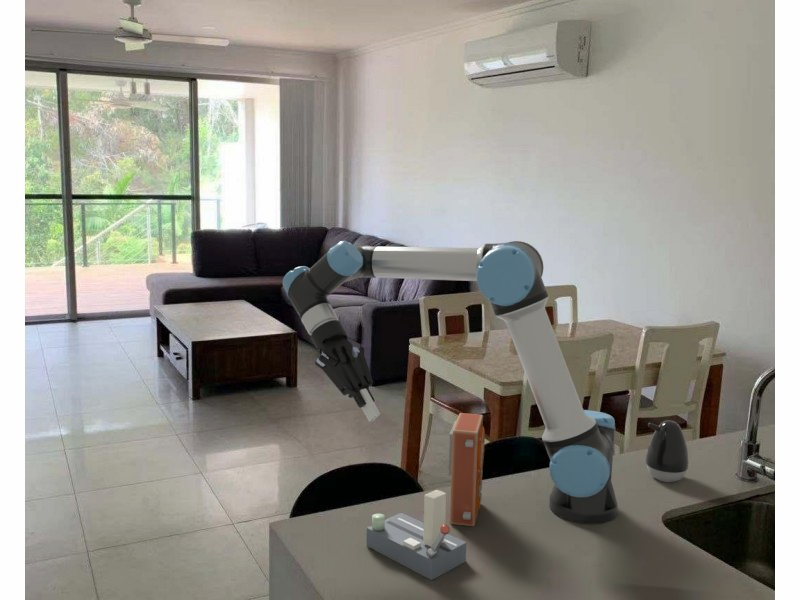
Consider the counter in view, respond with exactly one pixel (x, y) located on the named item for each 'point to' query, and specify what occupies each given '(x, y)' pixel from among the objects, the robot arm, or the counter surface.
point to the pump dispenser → (667, 452)
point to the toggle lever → (438, 541)
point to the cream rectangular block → (433, 515)
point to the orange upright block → (466, 468)
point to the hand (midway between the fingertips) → (374, 417)
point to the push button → (378, 522)
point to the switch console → (415, 546)
